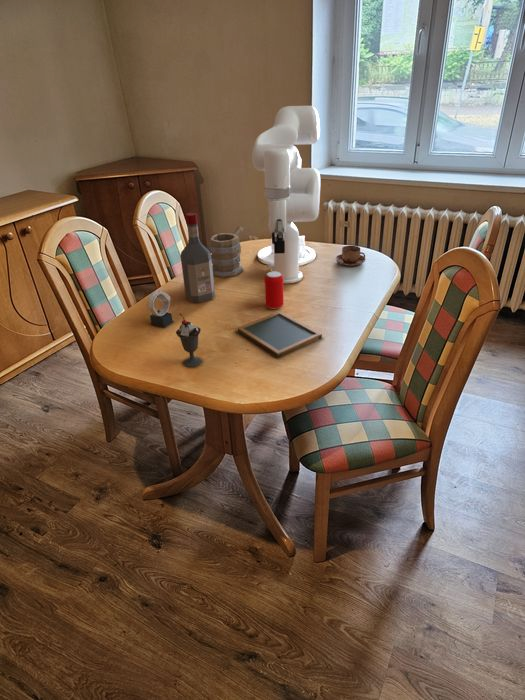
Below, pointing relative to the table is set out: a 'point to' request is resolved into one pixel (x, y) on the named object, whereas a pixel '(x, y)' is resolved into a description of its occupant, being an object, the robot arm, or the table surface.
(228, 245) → the tankard
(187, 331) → the sundae
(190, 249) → the liquor
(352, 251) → the cup and saucer
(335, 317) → the table surface
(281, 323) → the chalkboard
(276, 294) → the beverage can
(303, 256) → the dish
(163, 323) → the ring sculpture on stand
